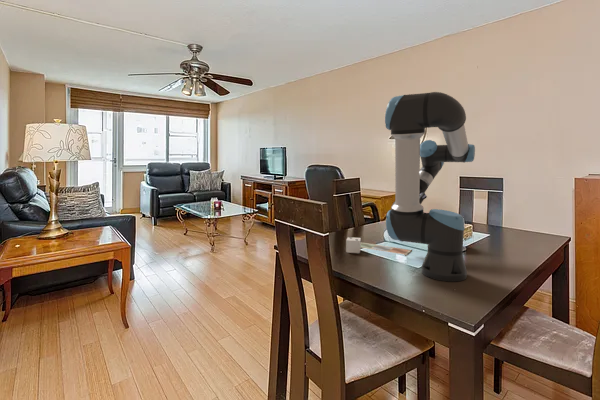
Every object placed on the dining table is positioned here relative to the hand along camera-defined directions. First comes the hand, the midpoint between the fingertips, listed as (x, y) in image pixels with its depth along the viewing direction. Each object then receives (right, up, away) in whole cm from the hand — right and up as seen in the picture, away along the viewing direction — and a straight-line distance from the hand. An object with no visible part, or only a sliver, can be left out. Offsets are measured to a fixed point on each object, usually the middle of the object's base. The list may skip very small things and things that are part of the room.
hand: (394, 221), depth 146 cm
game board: (-4, -14, +8) cm, 16 cm away
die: (-18, -14, +3) cm, 23 cm away
